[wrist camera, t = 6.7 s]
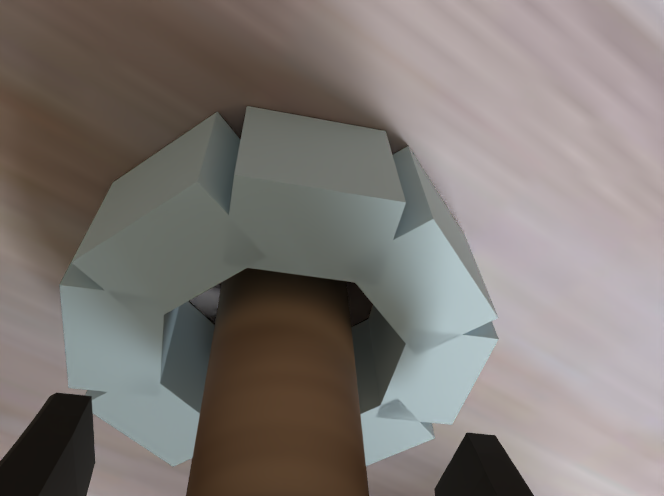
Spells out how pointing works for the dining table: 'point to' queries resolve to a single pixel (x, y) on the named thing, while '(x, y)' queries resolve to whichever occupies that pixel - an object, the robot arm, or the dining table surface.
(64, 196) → the dining table surface
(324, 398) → the brown wooden cylinder
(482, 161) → the dining table surface
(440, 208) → the pale teal ring
